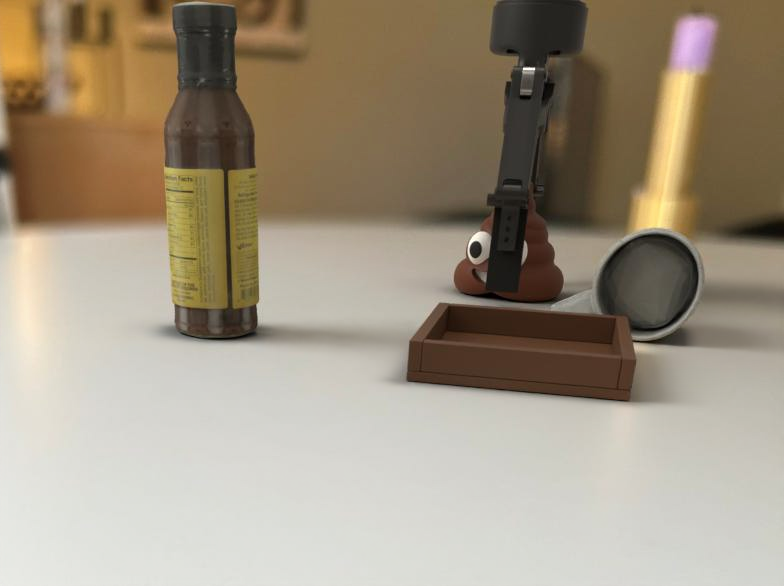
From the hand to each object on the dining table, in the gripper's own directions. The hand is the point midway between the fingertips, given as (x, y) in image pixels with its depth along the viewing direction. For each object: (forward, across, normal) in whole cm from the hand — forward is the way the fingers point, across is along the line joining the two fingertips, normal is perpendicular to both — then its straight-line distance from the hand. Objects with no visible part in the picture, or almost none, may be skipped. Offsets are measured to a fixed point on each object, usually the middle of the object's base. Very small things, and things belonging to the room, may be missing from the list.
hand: (506, 280), depth 90 cm
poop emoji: (+1, 0, 0) cm, 1 cm away
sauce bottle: (+1, +26, -19) cm, 32 cm away
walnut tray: (+1, +28, +3) cm, 29 cm away
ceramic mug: (+1, +14, +10) cm, 17 cm away
